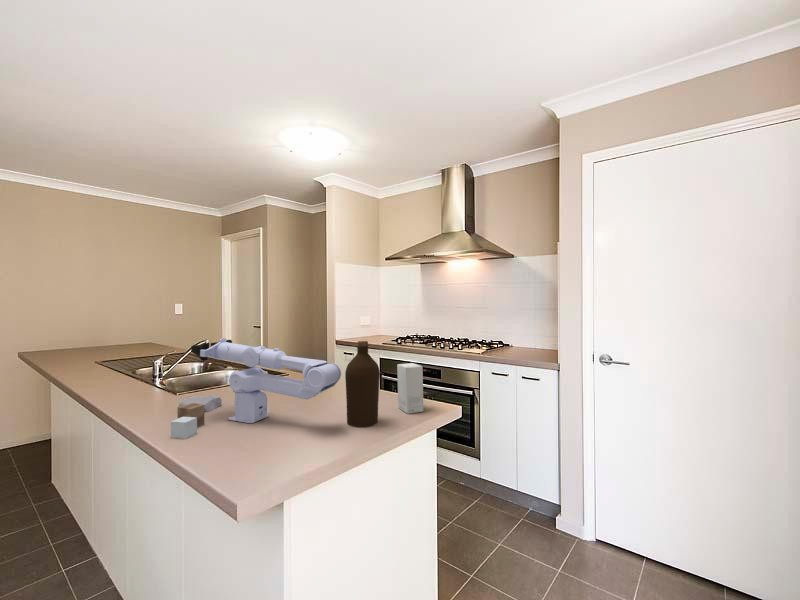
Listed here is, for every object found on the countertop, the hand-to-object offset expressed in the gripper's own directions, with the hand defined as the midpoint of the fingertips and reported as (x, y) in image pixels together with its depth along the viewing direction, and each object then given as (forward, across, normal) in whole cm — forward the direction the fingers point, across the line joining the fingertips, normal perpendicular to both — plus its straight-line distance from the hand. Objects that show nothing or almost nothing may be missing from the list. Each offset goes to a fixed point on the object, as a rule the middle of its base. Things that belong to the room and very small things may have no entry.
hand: (201, 347), depth 129 cm
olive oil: (-57, -10, +18) cm, 60 cm away
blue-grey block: (-16, +19, +20) cm, 32 cm away
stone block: (+2, -2, +22) cm, 23 cm away
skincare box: (-66, -28, +17) cm, 73 cm away
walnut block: (-11, +12, +21) cm, 26 cm away
